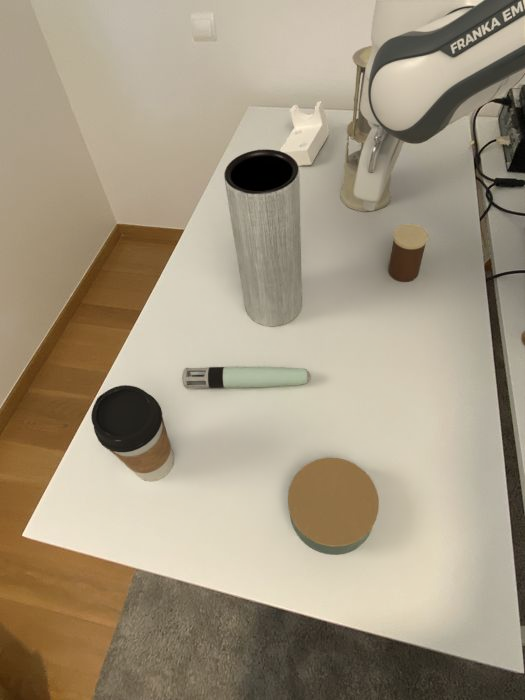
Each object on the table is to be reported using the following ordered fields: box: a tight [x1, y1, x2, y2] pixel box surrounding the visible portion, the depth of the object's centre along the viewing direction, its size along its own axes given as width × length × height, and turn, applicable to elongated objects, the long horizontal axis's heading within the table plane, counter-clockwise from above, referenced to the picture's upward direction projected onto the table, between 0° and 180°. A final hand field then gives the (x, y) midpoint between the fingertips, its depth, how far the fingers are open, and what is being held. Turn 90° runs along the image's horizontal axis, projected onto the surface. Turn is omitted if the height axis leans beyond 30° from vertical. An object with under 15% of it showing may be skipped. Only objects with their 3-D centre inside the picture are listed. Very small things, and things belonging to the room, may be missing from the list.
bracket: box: [279, 100, 330, 167], centre depth 112 cm, size 13×7×8 cm, turn 158°
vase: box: [223, 148, 303, 327], centre depth 77 cm, size 10×10×27 cm
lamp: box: [340, 45, 392, 213], centre depth 91 cm, size 10×13×30 cm
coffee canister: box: [387, 223, 429, 283], centre depth 87 cm, size 6×6×8 cm
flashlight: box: [181, 366, 312, 389], centre depth 78 cm, size 3×4×20 cm
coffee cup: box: [90, 384, 175, 482], centre depth 66 cm, size 8×8×15 cm
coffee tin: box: [287, 457, 380, 556], centre depth 64 cm, size 11×11×4 cm
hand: (377, 187), depth 75 cm, fingers open, 8 cm apart
